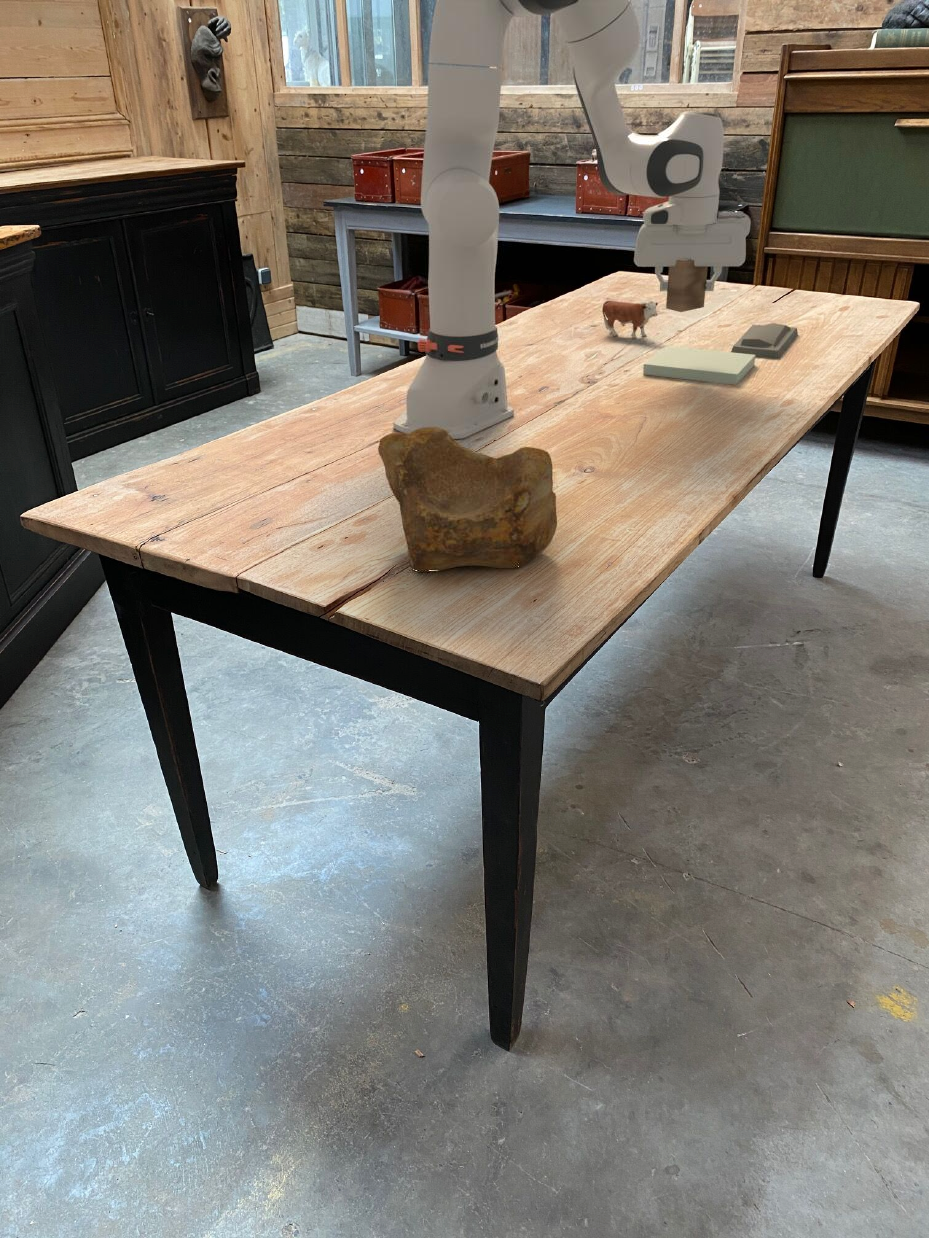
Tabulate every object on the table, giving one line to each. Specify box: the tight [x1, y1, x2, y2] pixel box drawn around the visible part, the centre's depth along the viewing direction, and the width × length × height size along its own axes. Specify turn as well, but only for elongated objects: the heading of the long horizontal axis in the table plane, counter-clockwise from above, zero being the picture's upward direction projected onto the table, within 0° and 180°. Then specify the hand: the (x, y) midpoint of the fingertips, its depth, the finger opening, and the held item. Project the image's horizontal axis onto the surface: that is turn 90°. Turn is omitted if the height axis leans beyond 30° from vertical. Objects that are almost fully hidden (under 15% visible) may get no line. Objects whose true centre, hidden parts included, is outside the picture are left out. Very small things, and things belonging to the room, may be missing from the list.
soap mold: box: [730, 322, 799, 359], centre depth 197 cm, size 10×20×4 cm, turn 153°
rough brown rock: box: [377, 427, 558, 571], centre depth 115 cm, size 23×16×15 cm
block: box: [665, 259, 709, 313], centre depth 177 cm, size 6×4×9 cm, turn 124°
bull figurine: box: [602, 300, 659, 340], centre depth 204 cm, size 4×13×8 cm, turn 53°
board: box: [642, 345, 757, 386], centre depth 183 cm, size 14×18×2 cm
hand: (686, 290), depth 178 cm, fingers closed on block, 7 cm apart
